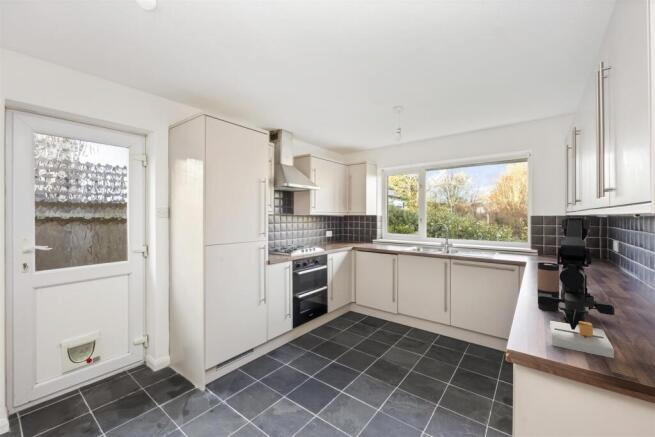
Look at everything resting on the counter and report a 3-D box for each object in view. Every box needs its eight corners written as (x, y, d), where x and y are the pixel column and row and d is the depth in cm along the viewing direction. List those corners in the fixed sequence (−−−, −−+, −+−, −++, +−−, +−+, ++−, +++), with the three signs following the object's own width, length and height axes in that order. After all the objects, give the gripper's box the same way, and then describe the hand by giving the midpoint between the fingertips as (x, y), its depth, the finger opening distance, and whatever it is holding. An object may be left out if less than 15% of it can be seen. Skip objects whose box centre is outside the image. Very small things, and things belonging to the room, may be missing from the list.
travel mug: (537, 305, 131) (537, 261, 130) (559, 308, 126) (559, 263, 126) (536, 309, 125) (536, 263, 125) (559, 313, 120) (559, 265, 120)
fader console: (549, 327, 104) (549, 320, 104) (602, 336, 96) (602, 329, 96) (551, 345, 90) (551, 336, 90) (613, 358, 82) (613, 349, 81)
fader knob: (578, 330, 94) (578, 321, 94) (590, 332, 92) (590, 323, 92) (580, 334, 91) (580, 324, 91) (592, 336, 89) (592, 326, 89)
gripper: (537, 282, 93) (537, 330, 93) (618, 291, 82) (618, 345, 82) (537, 276, 102) (537, 320, 102) (610, 284, 90) (610, 333, 91)
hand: (572, 329), depth 94 cm, fingers closed
